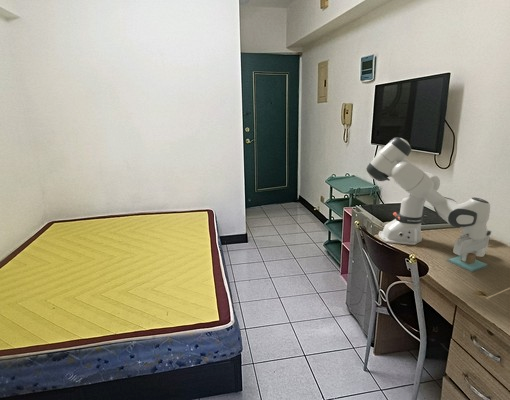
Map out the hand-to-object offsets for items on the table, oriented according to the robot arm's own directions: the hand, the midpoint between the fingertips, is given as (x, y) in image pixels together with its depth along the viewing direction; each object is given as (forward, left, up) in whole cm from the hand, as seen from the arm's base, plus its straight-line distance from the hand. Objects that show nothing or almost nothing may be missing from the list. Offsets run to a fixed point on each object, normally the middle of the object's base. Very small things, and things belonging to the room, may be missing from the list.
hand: (468, 259), depth 153 cm
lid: (0, 0, -2) cm, 2 cm away
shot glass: (+10, +10, -3) cm, 14 cm away
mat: (0, 0, -2) cm, 2 cm away
